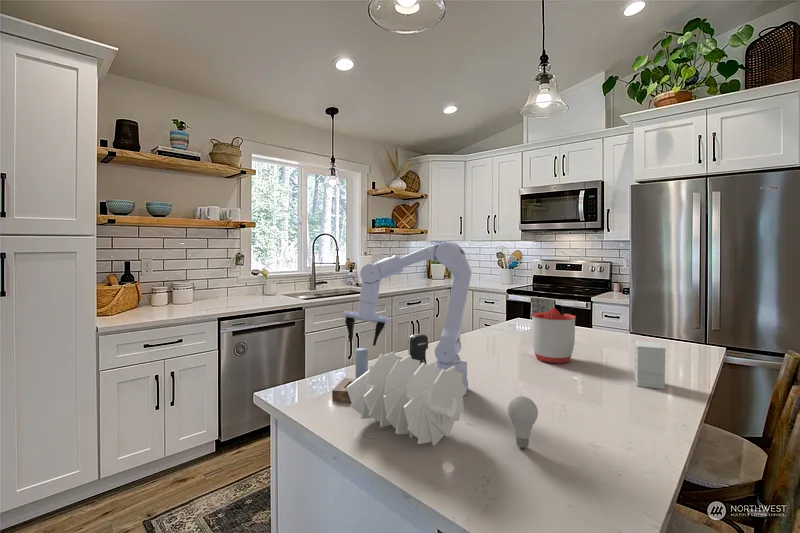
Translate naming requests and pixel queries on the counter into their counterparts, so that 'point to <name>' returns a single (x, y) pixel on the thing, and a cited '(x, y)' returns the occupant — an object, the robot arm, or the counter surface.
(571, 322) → the citrus juicer
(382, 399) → the spiral staircase
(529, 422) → the lightbulb
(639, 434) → the counter surface
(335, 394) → the socket block
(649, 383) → the supplement box
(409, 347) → the battery charger
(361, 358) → the peg
